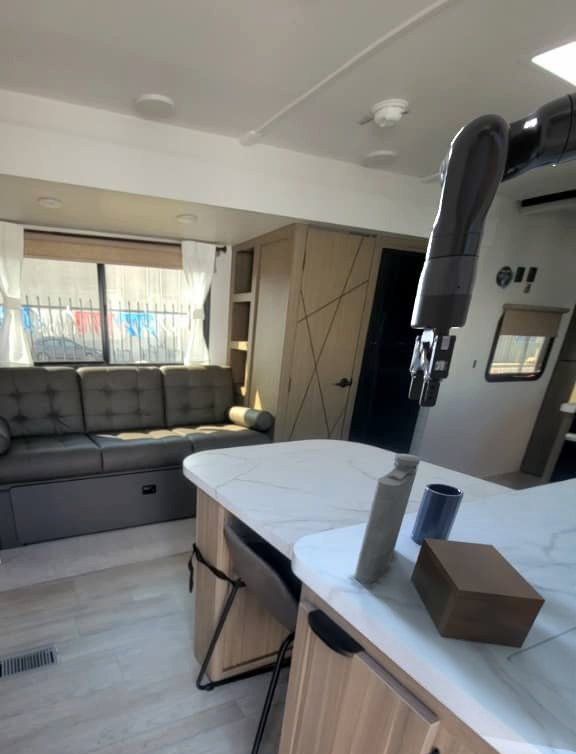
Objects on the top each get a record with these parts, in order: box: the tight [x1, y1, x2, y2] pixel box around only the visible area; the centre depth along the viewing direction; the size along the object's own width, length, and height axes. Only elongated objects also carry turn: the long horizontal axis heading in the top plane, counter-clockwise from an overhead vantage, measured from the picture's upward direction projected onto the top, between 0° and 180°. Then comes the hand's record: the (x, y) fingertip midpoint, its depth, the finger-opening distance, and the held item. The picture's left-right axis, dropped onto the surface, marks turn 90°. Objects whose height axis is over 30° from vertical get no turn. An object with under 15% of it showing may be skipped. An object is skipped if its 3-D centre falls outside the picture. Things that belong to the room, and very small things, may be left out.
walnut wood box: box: [410, 538, 546, 649], centre depth 60 cm, size 10×14×8 cm
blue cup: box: [410, 482, 465, 546], centre depth 78 cm, size 6×6×11 cm
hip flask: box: [353, 453, 421, 585], centre depth 68 cm, size 16×4×20 cm, turn 143°
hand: (420, 402), depth 68 cm, fingers open, 8 cm apart
